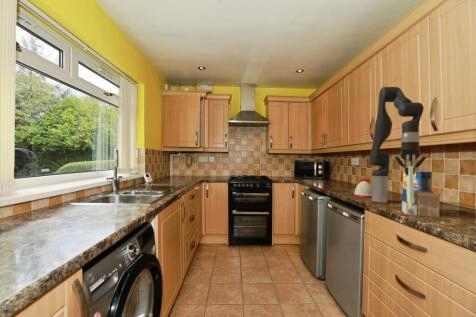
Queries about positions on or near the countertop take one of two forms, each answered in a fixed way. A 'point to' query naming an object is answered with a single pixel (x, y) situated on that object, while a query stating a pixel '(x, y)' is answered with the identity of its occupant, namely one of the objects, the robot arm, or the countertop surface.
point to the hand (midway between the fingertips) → (409, 175)
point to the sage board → (410, 185)
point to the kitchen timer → (363, 189)
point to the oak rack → (427, 203)
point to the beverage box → (418, 183)
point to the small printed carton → (412, 208)
